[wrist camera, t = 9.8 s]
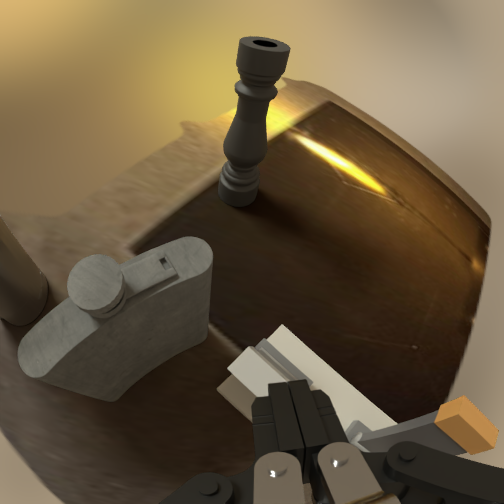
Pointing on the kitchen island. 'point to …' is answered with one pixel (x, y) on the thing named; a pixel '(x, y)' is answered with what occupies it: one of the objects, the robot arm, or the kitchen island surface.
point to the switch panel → (311, 385)
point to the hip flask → (122, 319)
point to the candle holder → (250, 117)
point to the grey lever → (259, 370)
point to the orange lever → (437, 431)
